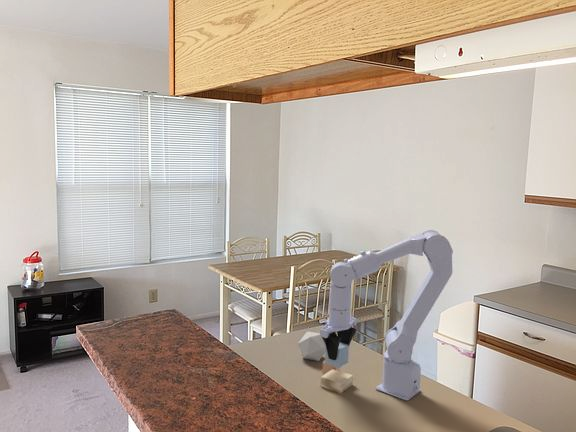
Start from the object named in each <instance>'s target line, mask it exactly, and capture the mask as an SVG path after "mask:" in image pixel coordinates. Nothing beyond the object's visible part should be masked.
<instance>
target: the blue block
mask: <svg viewBox="0 0 576 432" xmlns="http://www.w3.org/2000/svg"><path fill="white" fill-rule="evenodd" d="M349 350H350V345H347V344H344V343H341V342H340V343H339V347H338V354H337V358H336V360H331V359H329V358H328V353H327V349H326V351H325V353H324V354H325V355H324V356H325V357H324V360H325V363H327V364H330V365H332V366H335V367H338V368H339V367H340V368H341V367H343V366H345V365H346V364H348V363H349V355H350V353H349Z"/></svg>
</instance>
